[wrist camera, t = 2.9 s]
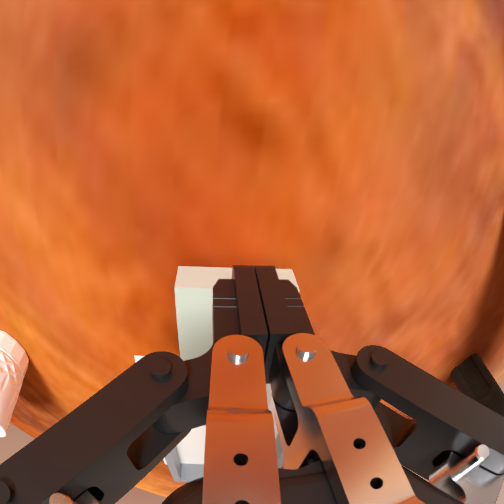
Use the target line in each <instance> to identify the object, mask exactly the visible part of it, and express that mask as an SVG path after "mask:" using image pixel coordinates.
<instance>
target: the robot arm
mask: <svg viewBox="0 0 504 504" xmlns="http://www.w3.org/2000/svg"><path fill="white" fill-rule="evenodd" d="M303 306H304V305H303V302H302V300H301V297H300V294H299V292H298V289H297V287H296V286H295V285H294V284H292V283H291V282H290V281H289V280H288V279H279V278H278V275H277V272H276V269H275V266H254V267H253V266H243V265H233V268H232V279H218V281H217V282H216V284H215V285H214V286H213V306H212V330H213V345H212V347H211V348H210V349H209V350H208V351H207V352H206V353H205V354H203V355H201V356H199V357H197V358H193V359H189V360H185V361H183V360H182V359H181V358H180V357H179V356H177V355H175V354H173V353H169V352H153V353H150V354H148V355H146V356H144V357H143V358H141V359H140V360H139V361H137V362H136V363H135V364H133V365H132V366H131V367H130V368H128V369H127V370H126V371H124V372H123V373H122V374H120V375H119V376H118V377H117V378H115V379H114V380H113V381H111V382H110V383H109V384H107V385H106V386H105V387H104V388H102V389H101V390H100V391H98V392H97V393H96V394H94V395H93V396H92V397H90V398H89V399H88V400H86V401H85V402H84V403H83V404H81V405H80V406H79V407H77V408H76V409H75V410H73V411H72V412H71V413H69V414H68V415H67V416H65V417H64V418H63V419H61V420H60V421H59V422H57V423H56V424H55V425H53V426H52V427H51V428H49V429H48V430H47V431H45V432H44V433H43V434H41V435H40V436H39V437H37V438H36V439H34V440H33V441H32V442H30V443H29V444H28V445H26V446H25V447H24V448H22V449H21V450H20V451H18V452H17V453H15V454H14V455H13V456H11V457H10V458H9V459H7V460H6V461H5V462H3V463H2V464H1V465H0V504H115V503H116V502H117V501H118V500H119V499H120V498H122V497H123V496H124V495H125V494H126V493H127V492H128V491H129V490H131V489H132V488H133V487H134V486H135V485H136V484H137V483H138V482H139V481H140V480H142V479H143V478H144V477H145V476H146V475H147V474H148V473H149V472H150V471H151V470H152V469H153V468H154V467H155V466H156V465H157V464H158V463H159V462H160V461H162V460H163V459H164V458H165V457H166V456H167V455H168V454H169V453H170V452H171V451H172V450H173V449H174V448H175V447H176V446H177V445H178V444H179V443H180V442H181V441H182V440H183V439H184V438H185V437H186V436H187V435H188V434H189V432H190V431H191V429H193V428H197V427H200V426H204V425H206V435H205V453H204V474H203V477H201V478H198V479H195V480H192V481H190V482H188V483H186V484H184V485H183V486H181V487H179V488H178V489H176V490H175V491H174V492H173V493H171V494H170V495H169V496H168V497H167V498H166V499H165V500H164V502H163V503H162V504H495V503H496V501H497V498H498V495H499V492H500V489H501V487H502V483H503V480H504V417H503V416H501V415H499V414H497V413H496V412H494V411H492V410H491V409H489V408H487V407H485V406H484V405H482V404H480V403H478V402H477V401H475V400H473V399H471V398H470V397H468V396H466V395H465V394H463V393H461V392H459V391H458V390H456V389H454V388H452V387H451V386H449V385H447V384H446V383H444V382H442V381H440V380H439V379H437V378H435V377H434V376H432V375H430V374H429V373H427V372H425V371H423V370H422V369H420V368H418V367H417V366H415V365H413V364H412V363H410V362H408V361H407V360H405V359H403V358H401V357H400V356H398V355H396V354H395V353H393V352H391V351H390V350H388V349H386V348H384V347H381V346H376V345H370V346H366V347H364V348H362V349H361V350H360V351H359V352H358V354H357V356H354V355H348V354H342V353H337V352H334V351H331V350H330V349H329V347H328V345H327V344H326V343H325V342H324V341H323V340H322V339H321V338H319V337H317V336H315V334H314V332H313V329H312V326H311V324H310V321H309V318H308V316H307V313H306V310H305V308H304V307H303ZM266 384H270V385H271V391H272V393H271V397H270V406H271V409H272V412H271V411H270V410H268V404H267V392H266ZM381 399H383V400H384V401H386V402H387V403H389V404H390V405H392V406H394V407H395V408H397V409H399V410H400V411H402V412H403V413H405V414H407V415H408V416H410V417H412V418H413V420H409V419H406V418H404V417H403V416H401V415H400V414H398V413H396V412H395V411H393V410H391V409H390V408H388V407H387V406H385V405H384V404H382V403H380V400H381ZM272 413H273V414H272ZM273 417H274V420H275V424H276V427H277V431H278V434H279V438H280V441H281V445H282V448H283V455H284V458H283V465H284V469H282V468H278V463H277V452H276V441H275V430H274V420H273ZM402 465H403V466H402ZM404 466H405V467H406V468H405V467H404ZM407 468H408V469H410V470H411V471H413V472H415V473H417V474H418V475H420V476H422V477H424V478H425V479H427V480H429V482H427V481H426V480H424V479H423V478H421V477H419V476H418V475H416V474H415V473H413V472H411V471H410V470H408V469H407Z"/></svg>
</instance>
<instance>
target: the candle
mask: <svg viewBox="0 0 504 504" xmlns="http://www.w3.org/2000/svg"><path fill="white" fill-rule="evenodd" d="M451 376H452V379H453V381H454V383H455V385H456V386H457V388H458V390H459V391H460V392H461V393H463V394H465V395H466V396H468V397H470V398H471V399H473V400H475V401H477V402H478V403H480V404H482V405H484V406H485V407H487V408H489V409H491V410H492V411H494V412H496V413H497V414H499V415H501V416H503V417H504V393H503V392H502V390H501V389H500V387H499V385H498V384H497V382H496V381H495V379H494V378H493V376H492V375H491V373H490V372H489V370H488V369H487V367H486V366H485V364H484V363H483V361H482V360H481V358H480V357H479V356H478V354H473V355H472V356H470V358H469V359H467V360H466V361H465V362H463V363H462V364H461V365H460V366H458V367H456V368H455V369H454V370H453V371H452V373H451Z"/></svg>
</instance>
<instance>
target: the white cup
mask: <svg viewBox="0 0 504 504" xmlns="http://www.w3.org/2000/svg"><path fill="white" fill-rule="evenodd" d="M28 364H29V358H28V356H27V354H26V352H25V350H24V349H23V348H22V346H21V345H20V344H19V343H18V342H17V341H16V340H15V339H14V338H13V337H11V336H10V335H9V334H8V333H6V332H4V331H2V330H0V437H5V436H6V434H7V431H8V427H9V424H10V420H11V417H12V414H13V411H14V408H15V405H16V402H17V399H18V396H19V392H20V389H21V386H22V383H23V378H24V376H25V373H26V371H27V368H28Z"/></svg>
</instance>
